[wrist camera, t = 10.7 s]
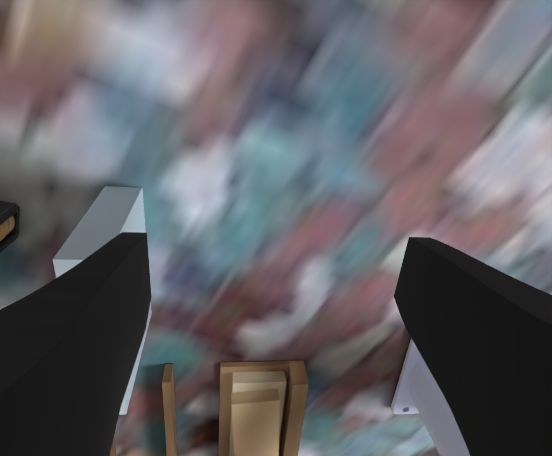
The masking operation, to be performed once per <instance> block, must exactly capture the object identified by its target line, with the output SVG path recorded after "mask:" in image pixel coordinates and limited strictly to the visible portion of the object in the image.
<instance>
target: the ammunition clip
mask: <svg viewBox="0 0 552 456" xmlns="http://www.w3.org/2000/svg"><path fill="white" fill-rule="evenodd" d="M18 222H19V207H18V206H17V205H16V204H15V203H9V202H4V201H0V252H2V251H3V250H4V249H5V248H6V247H7V246H8V245H9V244H11V243H12V242H13V241H14V240H15V239H16V238H17V237H18Z"/></svg>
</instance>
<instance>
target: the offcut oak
mask: <svg viewBox="0 0 552 456" xmlns="http://www.w3.org/2000/svg"><path fill="white" fill-rule="evenodd" d="M231 400H232V420H233V437H234V454H235V456H279V411H280V399H279V392H278V389H270V390H258V391H245V392H233V393H231Z"/></svg>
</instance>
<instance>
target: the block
mask: <svg viewBox="0 0 552 456" xmlns="http://www.w3.org/2000/svg"><path fill="white" fill-rule="evenodd" d="M122 232H142V233H146V232H145V218H144V205H143V191H142V187H112V186H105V187H104V188H103V190H102V191H101V192H100V194H99V195H98V197H97V198H96V199H95V201H94V202H93V204H92V205H91V206H90V208H89V209H88V211H87V212H86V213H85V215H84V216H83V218H82V219H81V220H80V222H79V223H78V225H77V226H76V227H75V229H74V230H73V232H72V233H71V234H70V236H69V237H68V239H67V240H66V241H65V243H64V244H63V246H62V247H61V248H60V250H59V251H58V253H57V254H56V255H55V257H54V258H53V264H54V269H55V274H56V278H57V277H59V276H60V275H62V274H64V273H65V272H67V271H68V270H70V269H71V268H73V267H74V266H76V265H77V264H79V263H80V262H81V261H83V260H84V259H86V258H87V257H88V256H90V255H91V254H93V253H94V252H95V251H97V250H98V249H99V248H101V247H102V246H103V245H105V244H106V243H107V242H109V241H110V240H111V239H113V238H114V237H116V236H117V235H119V234H120V233H122ZM151 314H152V313H151V302H150V308H149V314H148V319H147V325H146V330H145V333H144V336H143V339H142V343H141V346H140V349H139V352H138V355H137V358H136V362H135V365H134V368H133V371H132V374H131V377H130V380H129V383H128V386H127V389H126V393H125V396H124V399H123V402H122V405H121V409H120V412H119V415H124V414H126V413H127V409H128V405H129V401H130V397H131V393H132V389H133V385H134V381H135V378H136V374H137V370H138V366H139V362H140V358H141V354H142V350H143V346H144V342H145V338H146V334H147V330H148V326H149V322H150V318H151Z"/></svg>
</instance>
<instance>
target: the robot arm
mask: <svg viewBox="0 0 552 456" xmlns="http://www.w3.org/2000/svg"><path fill="white" fill-rule="evenodd" d="M394 298H395V301H396V304H397V306H398V309H399V312H400V315H401V317H402V320H403V322H404V325H405V327H406V329H407V331H408V333H409V334H410V336H411V341H410V344H409V348H408V351H407V354H406V358H405V361H404V364H403V368H402V371H401V375H400V378H399V381H398V385H397V388H396V391H395V395H394V398H393V402H392V405H391V409H392V412H393V413H394V414H418V413H419V414H420V416H421V418H422V420H423V422H424V424H425V426H426V428H427V430H428V432H429V434H430V436H431V438H432V440H433V442H434V444H435V446H436V448H437V450H438V452H439V454H440V456H552V295H550V294H548V293H545V292H543V291H541V290H539V289H536V288H534V287H532V286H530V285H528V284H525V283H523V282H521V281H519V280H517V279H515V278H513V277H511V276H508V275H506V274H504V273H502V272H500V271H498V270H496V269H494V268H492V267H490V266H488V265H486V264H484V263H483V262H481V261H479V260H477V259H475V258H473V257H471V256H469V255H467V254H465V253H463V252H461V251H459V250H457V249H455V248H453V247H451V246H449V245H447V244H444V243H442V242H440V241H437V240H435V239H432V238H421V237H409V240H408V243H407V247H406V251H405V255H404V259H403V263H402V267H401V271H400V275H399V279H398V283H397V286H396V290H395V294H394ZM150 302H151V287H150V273H149V259H148V245H147V233H142V232H122V233H120V234H119V235H117V236H116V237H114V238H113V239H111V240H110V241H109V242H107V243H106V244H105V245H103V246H102V247H101V248H99V249H98V250H97V251H95V252H94V253H93V254H91V255H90V256H88V257H87V258H86V259H84V260H83V261H81V262H80V263H79V264H77V265H76V266H74V267H73V268H71V269H70V270H68V271H67V272H65V273H64V274H62V275H60V276H59V277H57V278H56V279H54V280H53V281H51V282H50V283H48V284H47V285H45V286H43V287H42V288H40V289H38V290H37V291H35V292H33V293H31V294H30V295H28V296H26V297H24V298H22V299H21V300H19V301H17V302H15V303H13V304H11V305H9V306H7V307H5V308H3V309H1V310H0V456H110V452H111V447H112V443H113V438H114V433H115V428H116V424H117V420H118V416H119V412H120V409H121V405H122V402H123V399H124V396H125V393H126V389H127V386H128V383H129V380H130V377H131V374H132V371H133V368H134V365H135V362H136V358H137V355H138V352H139V349H140V346H141V343H142V339H143V336H144V333H145V330H146V325H147V319H148V314H149V308H150Z"/></svg>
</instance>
